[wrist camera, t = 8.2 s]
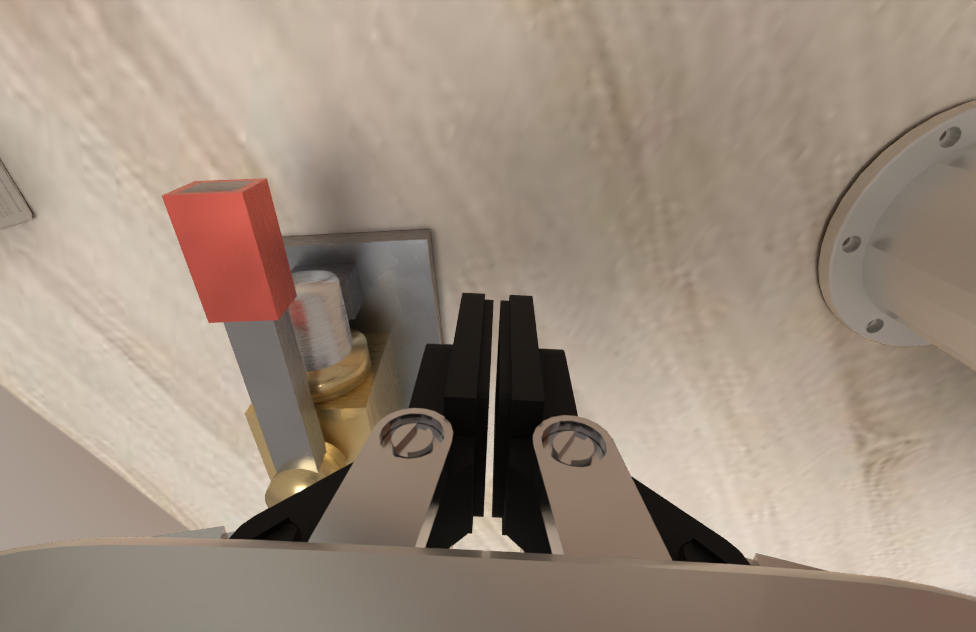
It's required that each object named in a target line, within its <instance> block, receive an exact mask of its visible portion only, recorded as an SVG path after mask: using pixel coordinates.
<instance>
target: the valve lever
mask: <svg viewBox="0 0 976 632" xmlns="http://www.w3.org/2000/svg"><path fill="white" fill-rule="evenodd" d="M162 198H163V200H164V203H165V206H166V208H167V211H168V214H169V216H170V219H171V222H172V225H173V227H174V230H175V233H176V235H177V238H178V241H179V244H180V246H181V249H182V252H183V254H184V257H185V260H186V262H187V265H188V268H189V271H190V273H191V276H192V279H193V281H194V284H195V287H196V289H197V292H198V295H199V298H200V300H201V303H202V306H203V308H204V311H205V314H206V317H207V319H208V322H209V323H215V322H224V325H225V328H226V331H227V334H228V337H229V339H230V342H231V345H232V348H233V351H234V354H235V356H236V359H237V362H238V365H239V368H240V371H241V373H242V376H243V379H244V382H245V385H246V388H247V390H248V393H249V396H250V399H251V402H252V405H253V407H254V410H255V413H256V416H257V419H258V422H259V425H260V427H261V430H262V433H263V436H264V439H265V442H266V444H267V447H268V450H269V453H270V456H271V459H272V461H273V464H274V467H275V470H276V473H275V475H274V477H273V479H272V481H271V483H270V485H269V487H268V489H267V491H266V494H265V501H266V504H267V506H268V508H270V507H272V506H274V505H276V504H277V503H279V502H281V501H283V500H285V499H286V498H288V497H290V496H292V495H294V494H296V493H297V492H299V491H301V490H303V489H305V488H307V487H308V486H310V485H312V484H314V483H316V482H317V481H319V480H321V479H323V478H325V477H327V476H328V475H330V474H332V473H334V472H336V471H337V470H339V469H341V468H343V467H345V466H346V460H345V457H344V455H343V454H342V453H341V451H340V450H339V449H337V448H336V447H335V446H333V445H331V444H329V443H327V442H324V438H323V435H322V431H321V427H320V424H319V420H318V416H317V413H316V409H315V405H314V402H313V398H312V394H311V390H310V387H309V383H308V379H307V376H306V372H305V368H304V365H303V361H302V357H301V354H300V350H299V346H298V343H297V339H296V335H295V332H294V328H293V324H292V321H291V317H290V313H289V310H288V307H289V306H290V305H291V303H292V302H293V301H294V299H295V298H296V297H297V294H296V290H295V286H294V282H293V278H292V274H291V270H290V267H289V263H288V259H287V255H286V251H285V247H284V243H283V239H282V236H281V232H280V228H279V224H278V220H277V216H276V212H275V208H274V205H273V201H272V197H271V193H270V189H269V185H268V181H267V178H265V179H240V180H214V181H194V182H192V183H190V184H187V185H185V186H183V187H181V188H178V189H176V190H174V191H171V192H169V193H167V194H164V195H162Z"/></svg>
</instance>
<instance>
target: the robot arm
mask: <svg viewBox="0 0 976 632" xmlns="http://www.w3.org/2000/svg"><path fill="white" fill-rule="evenodd" d="M818 268H819V283H820V288H821V291H822V294H823V297H824V300H825V303H826V304H827V305H828V307H829V308H830V310H831V311H832V313H833V314H834V316H835V317H836V318H838V319H839V320H840V321H841V322H842V323H844V324H845V325H846V326H847V327H849V328H850V329H851V330H853V331H854V332H856V333H857V334H859V335H860V336H862V337H864V338H866V339H868V340H871V341H874V342H877V343H880V344H883V345H891V346H900V347H914V346H928V345H935V346H936V347H938V348H939V349H941V350H942V351H944V352H946V353H947V354H949V355H950V356H952V357H953V358H955V359H957V360H958V361H960V362H961V363H963V364H964V365H966V366H967V367H969V368H971V369H972V370H974V371H975V372H976V100H975V101H971V102H967V103H964V104H962V105H960V106H957V107H955V108H952V109H950V110H948V111H945V112H943V113H940V114H938V115H936V116H934V117H933V118H931V119H929V120H928V121H926V122H924V123H923V124H921V125H919V126H917V127H916V128H914V129H912V130H911V131H909V132H908V133H906V134H905V135H904V136H903V137H901V138H900V139H899V140H897V141H896V142H895V143H894V144H892V145H891V146H890V147H888V148H887V149H886V150H885V151H883V152H882V153H881V154H880V155H879V156H878V157H877V158H876V159H875V160H874V161H873V162H872V163H871V164H870V165H869V166H868V167H867V168H866V169H865V170H864V171H863V172H862V173H861V175H860V176H859V177H858V179H857V180H856V181H855V183H854V184H853V185H852V186H851V188H850V189H849V190H848V192H847V193H846V194H845V196H844V197H843V199H842V200H841V202H840V204H839V206H838V208H837V209H836V211H835V213H834V215H833V217H832V219H831V220H830V222H829V225H828V228H827V231H826V234H825V237H824V239H823V242H822V246H821V252H820V259H819V265H818ZM492 322H493V300H485V294H478V293H462V298H461V304H460V309H459V315H458V320H457V326H456V332H455V337H454V343H453V345H451V344H430V343H427V344H426V346H425V350H424V353H423V357H422V361H421V364H420V368H419V371H418V375H417V379H416V382H415V386H414V390H413V393H412V397H411V401H410V404H409V408H408V409H403V410H399V411H396V412H394V413H391V414H389V415H387V416H386V417H384V418H383V419H381V420H380V421H379V422H378V423H377V425H376V426H375V427H374V428H373V430H372V431H371V433H370V435H369V437H368V438H367V440H366V442H365V444H364V445H363V447H362V449H361V451H360V452H359V454H358V456H357V457H356V459H355V461H354V462H352V463H350V464H348V465H347V466H345V467H343V468H341V469H339V470H337V471H336V472H334V473H332V474H330V475H328V476H327V477H325V478H323V479H321V480H319V481H317V482H316V483H314V484H312V485H310V486H308V487H307V488H305V489H303V490H301V491H299V492H297V493H296V494H294V495H292V496H290V497H288V498H286V499H285V500H283V501H281V502H279V503H277V504H276V505H274V506H272V507H270V508H268V509H266V510H265V511H263V512H261V513H259V514H257V515H256V516H254V517H253V518H251V519H250V520H248V521H247V522H245V523H244V524H242V525H241V526H240V527H239V528H238V529H237V530H236V531H235V532H230V533H226V530H225V527H224V526H221V527H215V528H208V529H201V530H194V531H188V532H181V533H174V534H167V535H161V536H154V537H107V538H106V537H105V538H92V539H78V540H65V541H57V542H51V543H44V544H38V545H31V546H25V547H18V548H12V549H9V550H4V551H0V632H976V597H973V596H969V595H965V594H961V593H957V592H954V591H950V590H946V589H942V588H938V587H934V586H930V585H925V584H919V583H913V582H908V581H902V580H896V579H891V578H885V577H876V576H866V575H856V574H847V573H839V572H830V571H826V570H822V569H818V568H814V567H810V566H805V565H801V564H797V563H793V562H789V561H785V560H781V559H777V558H773V557H769V556H765V555H761V554H757V553H756V555H755V557H754V559H753V560H752V559H748V558H745V557H744V556H743V554H742V553H741V552H740V551H739V550H738V549H737V548H736V547H734V546H733V545H732V544H731V543H729V542H728V541H727V540H726V539H724V538H723V537H721V536H720V535H718V534H717V533H715V532H714V531H712V530H711V529H709V528H708V527H706V526H705V525H703V524H702V523H700V522H699V521H697V520H696V519H694V518H693V517H691V516H690V515H688V514H687V513H685V512H684V511H682V510H681V509H679V508H678V507H676V506H675V505H673V504H672V503H670V502H669V501H667V500H666V499H664V498H663V497H661V496H660V495H658V494H657V493H655V492H654V491H652V490H651V489H649V488H648V487H646V486H645V485H643V484H642V483H640V482H639V481H637V480H636V479H634V478H633V477H631V475H630V473H629V471H628V469H627V467H626V465H625V463H624V461H623V459H622V457H621V455H620V453H619V451H618V449H617V447H616V445H615V443H614V441H613V439H612V438H611V436H610V435H609V434H608V432H607V431H606V430H605V429H603V428H602V427H601V426H600V425H598V424H596V423H594V422H592V421H590V420H588V419H585V418H581V417H578V414H577V409H576V404H575V400H574V395H573V390H572V385H571V380H570V375H569V370H568V366H567V361H566V356H565V352H564V350H557V349H539V347H538V339H537V331H536V322H535V314H534V305H533V297H532V296H521V295H510V297H509V301H501V303H500V321H499V339H498V357H497V375H496V394H495V425H494V462H493V500H492V517H498V518H502V535H507V536H508V537H509V538H510V539H511V540H513V541H514V542H515V543H516V544H517V545H518V546H519V547H520V548H521V550H520V552H501V551H481V550H461V549H453V545H454V544H455V543H456V542H458V541H459V540H460V539H462V538H463V537H464V536H465V535H467V534H468V533H472V526H473V516H478V517H483V516H484V495H485V474H486V452H487V431H488V410H489V388H490V366H491V344H492Z"/></svg>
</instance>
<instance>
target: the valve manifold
mask: <svg viewBox="0 0 976 632" xmlns="http://www.w3.org/2000/svg"><path fill="white" fill-rule="evenodd" d="M282 239H283V243H284V247H285V251H286V255H287V259H288V263H289V267H290V270H291V274H292V278H293V282H294V286H295V290H296V294H297V297H296V298H295V299H294V301H293V302H292V303H291V305H290V306H289V307H288V310H289V313H290V317H291V321H292V324H293V328H294V332H295V335H296V339H297V343H298V346H299V350H300V354H301V357H302V361H303V365H304V368H305V372H306V376H307V379H308V383H309V387H310V390H311V394H312V398H313V402H314V405H315V409H316V413H317V416H318V420H319V424H320V427H321V431H322V435H323V438H324V442H327V443H329V444H331V445H333V446H335V447H336V448H337V449H339V450H340V451H341V453H342V454H343V455H344V457H345V460H346V466H347V465H348V464H350V463H352V462H354V461H355V459H356V457H357V456H358V454H359V452H360V451H361V449H362V447H363V445H364V444H365V442H366V440H367V438H368V437H369V435H370V433H371V431H372V430H373V428H374V427H375V426H376V425H377V423H378V422H379V421H380V420H381V419H383V418H384V417H386V416H387V415H389V414H391V413H394V412H396V411H399V410H403V409H408V408H409V404H410V401H411V397H412V393H413V390H414V386H415V382H416V379H417V375H418V371H419V368H420V364H421V361H422V357H423V353H424V350H425V346H426V344H427V343H430V344H443V339H442V330H441V321H440V313H439V304H438V295H437V286H436V278H435V269H434V260H433V251H432V243H431V234H430V229H421V230H402V231H383V232H364V233H345V234H327V235H308V236H289V237H282ZM245 415H246V418H247V420H248V423H249V426H250V428H251V431H252V433H253V436H254V439H255V441H256V444H257V446H258V449H259V452H260V454H261V457H262V459H263V462H264V464H265V467H266V470H267V472H268V475H269V477H270V480H271V481H272V479H273V477H274V475H275V473H276V470H275V467H274V464H273V461H272V459H271V456H270V453H269V450H268V447H267V444H266V442H265V439H264V436H263V433H262V430H261V427H260V425H259V422H258V419H257V416H256V413H255V410H254V407H253V405H252V403H251V405H250V406H249V408H248V410H247V411H246V413H245Z"/></svg>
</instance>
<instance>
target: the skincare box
mask: <svg viewBox="0 0 976 632" xmlns="http://www.w3.org/2000/svg"><path fill="white" fill-rule="evenodd" d="M31 219H32V213H31V211H30V209H29V207H28V206H27V204H26V202H25V200H24V198H23V197H22V195H21V193H20V192H19V190H18V188H17V187H16V185H15V183H14V182H13V180H12V179H11V177H10V176H9V174H8V172H7V171H6V169H5V167H4V166H3V164H2V163H1V161H0V230H2V229H5V228H8V227H11V226H14V225H17V224H20V223H23V222H26V221H29V220H31Z"/></svg>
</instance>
